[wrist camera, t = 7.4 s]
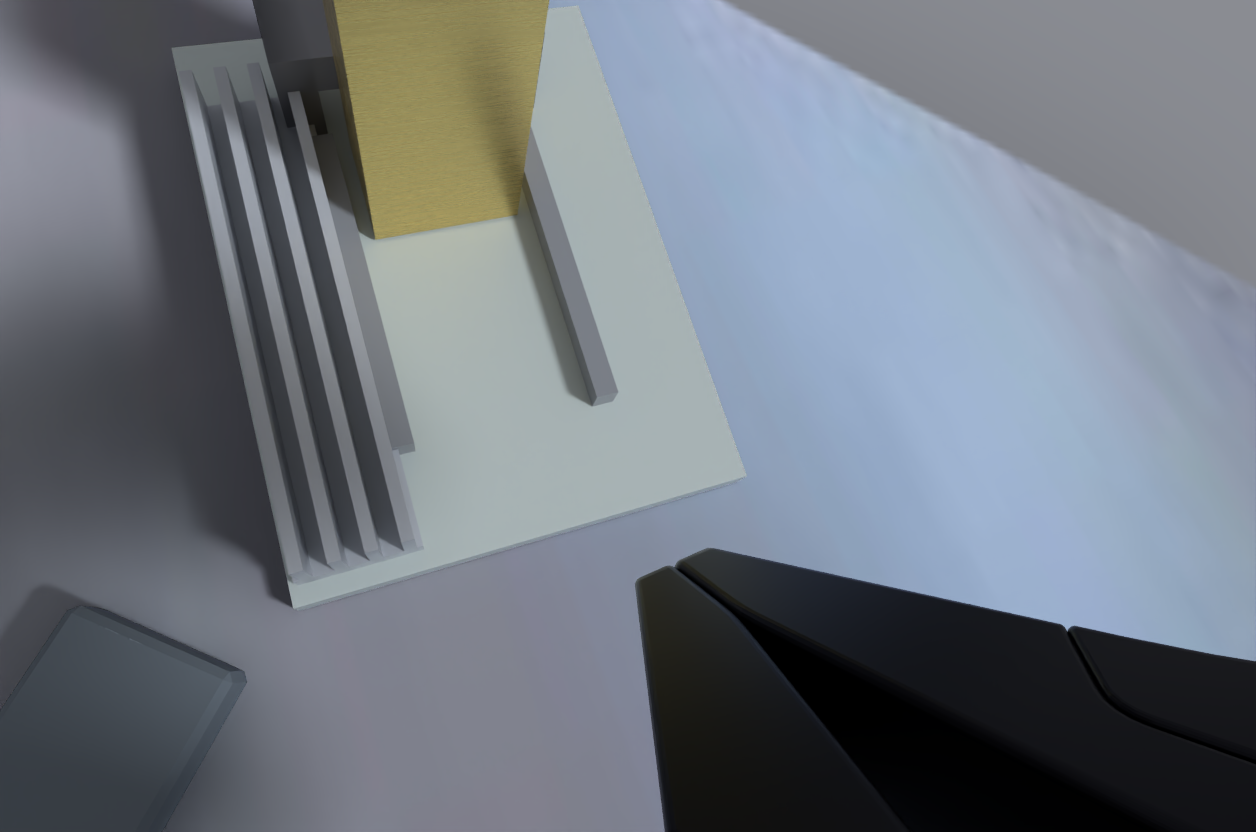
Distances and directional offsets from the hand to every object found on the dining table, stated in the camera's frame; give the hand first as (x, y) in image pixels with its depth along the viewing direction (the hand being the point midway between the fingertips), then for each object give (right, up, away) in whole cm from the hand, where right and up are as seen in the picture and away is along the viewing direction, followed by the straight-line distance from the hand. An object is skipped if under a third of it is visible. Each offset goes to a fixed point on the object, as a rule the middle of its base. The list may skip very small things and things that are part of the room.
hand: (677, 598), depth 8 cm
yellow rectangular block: (-6, +10, +15) cm, 19 cm away
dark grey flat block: (-13, -8, +10) cm, 18 cm away
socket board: (-5, +6, +15) cm, 17 cm away
